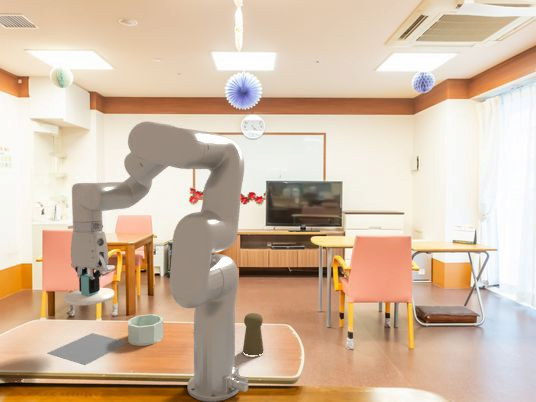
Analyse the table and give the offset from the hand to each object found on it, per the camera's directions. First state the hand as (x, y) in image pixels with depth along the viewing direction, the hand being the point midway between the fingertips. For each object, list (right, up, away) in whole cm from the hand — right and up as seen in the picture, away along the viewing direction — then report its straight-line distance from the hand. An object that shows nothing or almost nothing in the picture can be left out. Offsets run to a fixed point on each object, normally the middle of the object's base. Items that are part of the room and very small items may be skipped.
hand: (89, 290), depth 111 cm
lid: (0, -2, 0) cm, 2 cm away
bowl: (+14, -17, +8) cm, 23 cm away
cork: (+46, -18, 0) cm, 50 cm away
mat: (-1, -17, +1) cm, 17 cm away
